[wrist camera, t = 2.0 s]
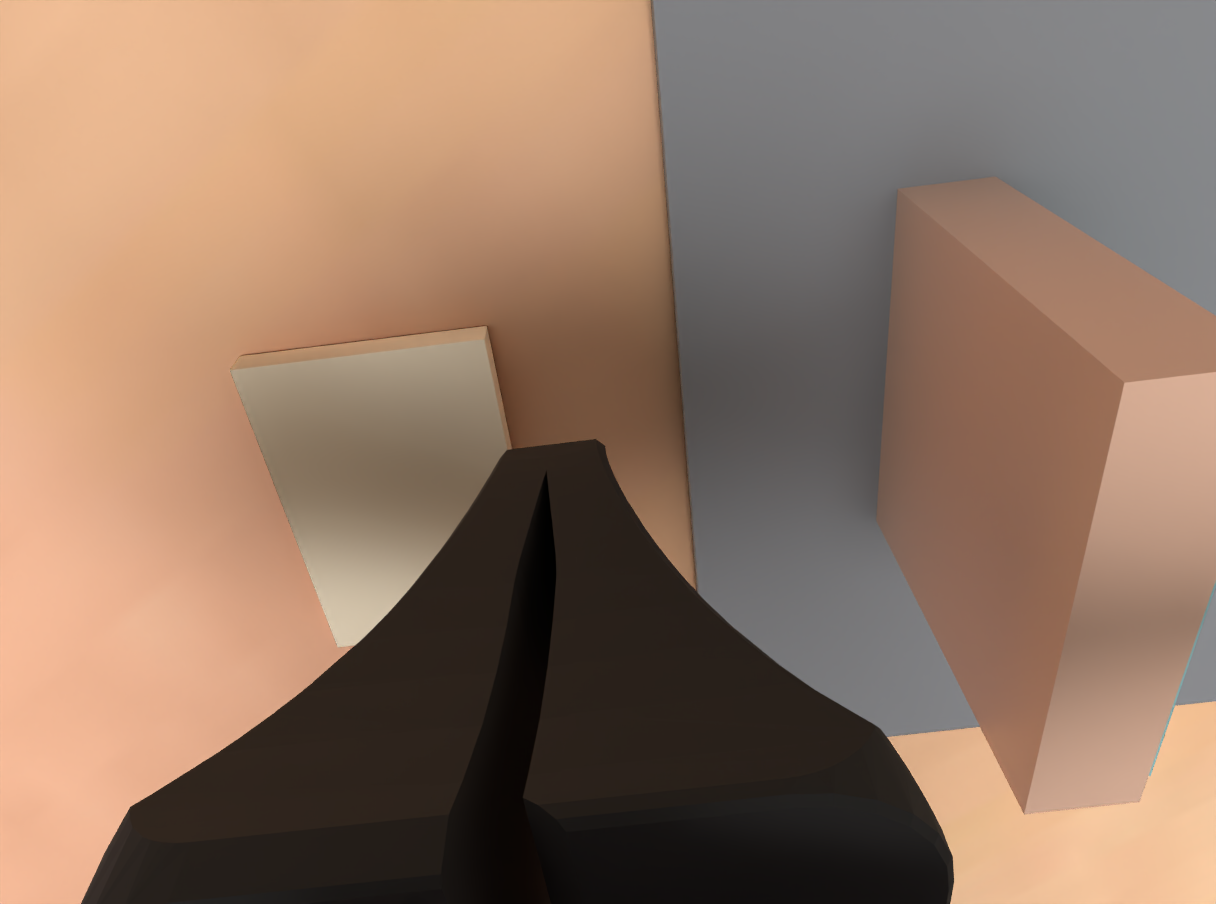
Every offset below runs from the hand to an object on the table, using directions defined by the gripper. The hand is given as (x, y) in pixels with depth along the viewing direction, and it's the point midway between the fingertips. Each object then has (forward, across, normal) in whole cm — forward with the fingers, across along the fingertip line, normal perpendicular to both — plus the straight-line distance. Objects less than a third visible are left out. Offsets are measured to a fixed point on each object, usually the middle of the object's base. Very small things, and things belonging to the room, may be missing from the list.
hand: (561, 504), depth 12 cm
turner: (+3, +3, +5) cm, 7 cm away
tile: (+3, -6, 0) cm, 7 cm away
